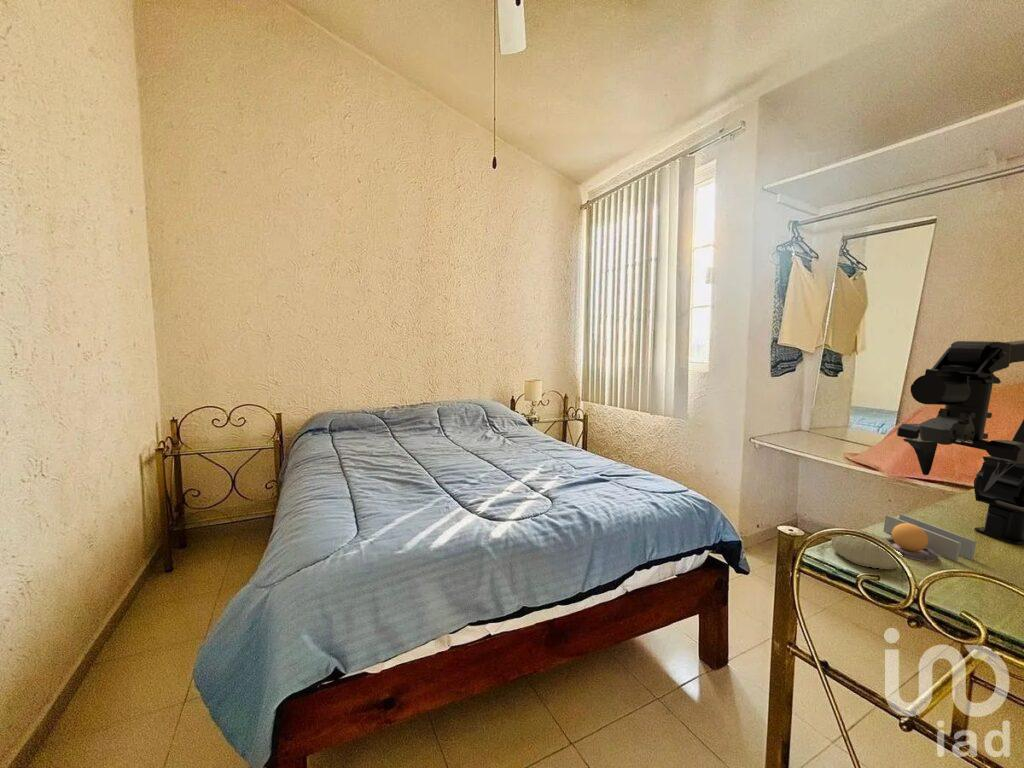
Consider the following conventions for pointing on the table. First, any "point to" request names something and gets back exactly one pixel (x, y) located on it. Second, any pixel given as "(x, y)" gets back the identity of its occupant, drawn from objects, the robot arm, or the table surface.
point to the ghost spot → (915, 552)
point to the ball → (909, 537)
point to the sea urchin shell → (864, 551)
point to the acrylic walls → (937, 538)
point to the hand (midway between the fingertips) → (952, 482)
